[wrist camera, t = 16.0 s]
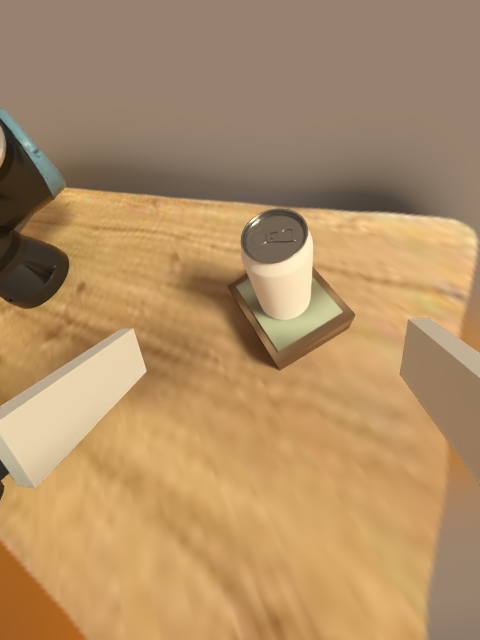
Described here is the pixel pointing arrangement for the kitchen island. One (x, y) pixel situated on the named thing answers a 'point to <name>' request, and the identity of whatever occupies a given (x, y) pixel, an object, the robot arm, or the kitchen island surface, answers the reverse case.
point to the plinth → (295, 320)
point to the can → (279, 261)
